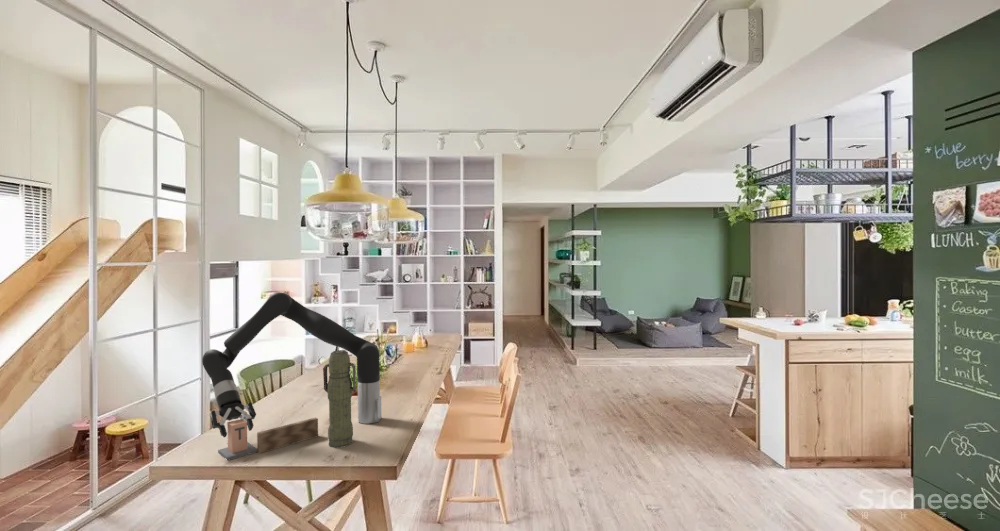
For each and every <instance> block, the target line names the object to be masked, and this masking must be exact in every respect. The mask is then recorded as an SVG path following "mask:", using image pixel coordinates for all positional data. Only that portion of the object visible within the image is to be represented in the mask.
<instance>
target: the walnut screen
mask: <svg viewBox="0 0 1000 531" xmlns="http://www.w3.org/2000/svg"><path fill="white" fill-rule="evenodd" d="M256 434H257V435H256V441H257V442H256V443H257V447H256V448H257V449H258V452H257V453H259V454H261V453H262V454H263V453H265V452H269V451H273V450H276V449H279V448H282V447H285V446H289V445H292V444H296V443H300V442H303V441H307V440H311V439H314V438H316V436H317V437H319V418H318V417H316V416H315V417H312V418H308V419H305V420H300V421H297V422H293V423H289V424H285V425H282V426H277V427H274V428H270V429H267V430H263V431H258V432H257V433H256Z"/></svg>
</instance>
